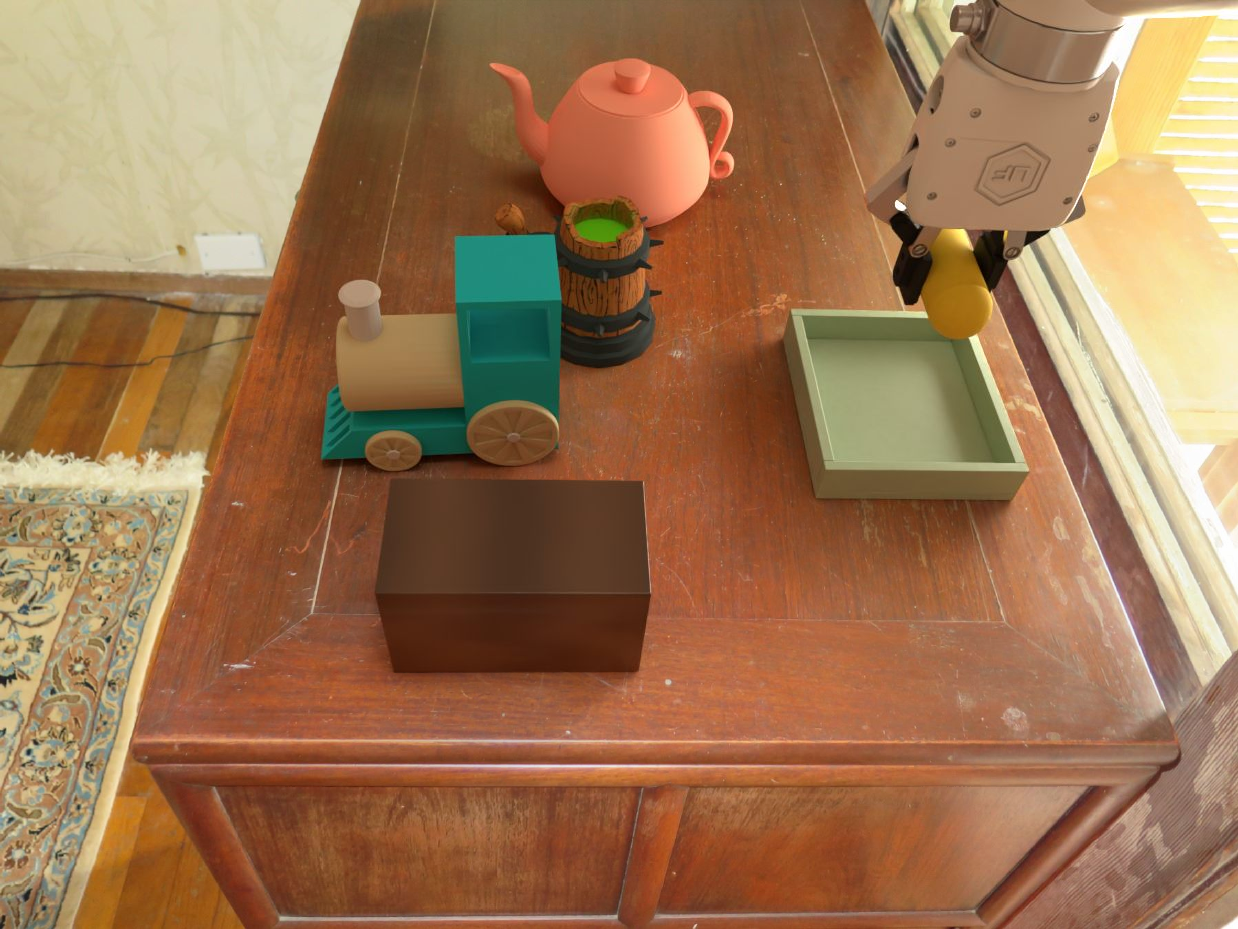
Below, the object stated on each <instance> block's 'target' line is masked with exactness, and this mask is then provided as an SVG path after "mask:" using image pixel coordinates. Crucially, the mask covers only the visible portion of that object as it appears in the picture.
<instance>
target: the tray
mask: <svg viewBox="0 0 1238 929" xmlns="http://www.w3.org/2000/svg"><path fill="white" fill-rule="evenodd" d="M782 342H783V347H784V352H785V356H786V357H785V358H786V361H787V366H788V371H789V377H790V381H791V386H792V392H793V395H794V401H795V406H796V411H797V415H798V420H799V426H800V429H801V435H802V440H803V444H804V449H805V454H806V459H807V463H808V468H809V472H810V473H809V474H810V478H811V483H812V487H813V493H814V498H815V499H834V500H835V499H836V500H837V499H840V500H841V499H842V500H843V499H844V500H845V499H847V500H848V499H849V500H850V499H851V500H856V499H857V500H946V501H947V500H953V501H954V500H956V501H957V500H958V501H959V500H962V501H963V500H965V501H966V500H967V501H970V500H971V501H1014V499H1015V497H1016V495H1017V493H1018V492H1019V490H1020V489H1021V487H1022V486H1023V484H1024V482H1025V480H1026V479H1027V478H1028V476H1029V474H1030V468H1029V467H1028V464H1027V461H1026V458H1025V456H1024V453H1023V451H1022V448H1021V445H1020V443H1019V440H1018V438H1017V436H1016V433H1015V432H1016V431H1015V430H1014V426H1013V425H1012V422H1011V419H1010V417H1009V414H1008V411H1007V409H1006V407H1005V404H1004V402H1003V399H1002V396H1001V394H1000V391H999V389H998V386H997V384H996V381H995V378H994V376H993V372H992V371H991V367H990V365H989V363H988V361H987V357H986V355H985V353H984V349H983V347H982V345H981V342H980V340H979V337H978V334H976V335H974V336H972V337H969V338H966V339H951V338H947V337H945V336H943V335H941V334H940V333H938V332H937V331H936V330H935V329H934V328H933V326H932V325H931V323H930V321H929V318H928V315H927V312H926V311H919V310H917V311H910V310H909V311H908V310H875V309H874V310H870V309H869V310H867V309H829V308H828V309H826V308H823V309H822V308H789V312H788V316H787V321H786V324H785V328H784V332H783V335H782Z"/></svg>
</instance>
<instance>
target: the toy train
mask: <svg viewBox="0 0 1238 929" xmlns="http://www.w3.org/2000/svg"><path fill="white" fill-rule="evenodd" d="M454 268H455V269H454V276H455V278H454V282H455V284H454V286H455V287H454V288H455V293H454V294H455V297H454V298H455V313H451V312H450V313H420V314H419V313H417V314H415V313H414V314H382V315H381V309H380V303H379V300H380V298H381V295H382V290H381V288H380V287H379V285H378V284H377V283H375V282H374V281H371V280H368V279H355V280H351V281H348V282H347V283H345V284H343V285H342V286H341V288H340V289H339V291H338V293H337V294H338V295H337V297H338V300H339V301H340V303H341V304H342V305H343V307H344V312H345V316H342V317H340V319H339V320H338V322H337V326H336V333H335V363H336V374H337V384H336V385H335V386H334V387H333V388H332V389H330V391H328V392H327V398H326V405H325V406H326V408H325V415H324V416H325V417H324V424H323V425H324V426H323V435H322V445H321V454H320V461H321V460H323V461H324V460H343V459H345V460H346V459H367V461H368V462H369V463H370V464H371V465H372V466H374V467H376V468H378V469H380V470H384V471H388V472H401V471H406V470H409V469H411V468H413V467H414V466H417V464H418V463H419V462H420V461H421V458H422V456H435V455H436V456H438V455H439V456H440V455H459V454H475V455H476V456H477V457H479V458H480V459H482V460H483V461H486V462H488V463H490V464H494V465H498V466H505V467H507V466H508V467H511V466H512V467H517V466H524V465H528V464H532V463H534V462H537V461H539V460H542V459H543V458H545V457H547V456H548V455H549V454H550V453H551V452H552V451H554V450H559V440H560V439H559V438H560V430H559V429H560V426H559V425H560V394H561V393H560V391H561V390H560V388H561V387H560V384H561V357H560V348H561V302H562V300H561V290H560V281H559V272H558V263H557V254H556V244H555V235H506V234H504V235H502V234H501V235H455V236H454Z"/></svg>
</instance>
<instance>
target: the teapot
mask: <svg viewBox="0 0 1238 929" xmlns="http://www.w3.org/2000/svg"><path fill="white" fill-rule="evenodd" d="M489 67H490V68H491V70H492V71H494V72H495V73H497V74H498V75H499V77H501V78H502V79H503V80H504V81H505V82H506V84H507V86H508V87H509V88H510V89H509V90H510V91H511V94H512V99H513V108H514V123H515V124H514V125H515V131H516V135H517V138H518V143H519V144H520V146H521V148H522V150H523V151H524V152H525V154H526V155H527V156H528V157H529V158H530V159H531V160H533V161H534V162H536V164H538V165H539V170H540V174H541V177H542V180H543V182H544V184H545V186H546V188H547V189H548V191H549V192H550V193H551V195H552V196H553V197H554V198H555V199H556V201H558V202H559V203H560V204H561V205H562V206H563V207H565V205H566V204H567V203H572V202H574V203H577V202H580V201H582V200H585V199H593V198H606V199H613V200H615V198H616V196H617V195H619V196H622V197H625V198H628V199H630V200H631V201H632V202H633V203H634V205H635V206H636V207H637V208H638V209H639V215H640V217H641V218H643V217H645V216H647V218H648V219H647V220H646V221H645V222H644V223H643V225H644V226H645V229H647V228H652V227H655V226H659V225H662V224H665V223H667V222H669V221H671V220H673V219H674V218H677V217H678V216H680V215H681V214H683V213H684V212H685V211H687V210H688V209H690V208H691V207H692V206H694V204H696V202H698V200H700V198H701V196H702V195H703V194H704V192H705V191H706V188H707V186H708V183H709V179H712V180H717V181H718V180H723V179H725V178H727V177H729V176H730V175H731V174H732V172H733V171H734V167H735V160H734V157H733V156H732V154H731V153H729V152H728V151H723V148H724V146H725V144H726V142H727V140H728V138H729V135H730V133H731V129H732V126H733V122H734V114H733V109H732V106H731V104H730V103H729V101H728V100H727V99H726V98H725V97H724V96H722V95H720V94H719V93H716V92H715V91H711V90H698V91H694V92H691V93H690V94H689V93H688V91H687V90H686V88H685V86H684V85H683V84H682V83H681V80H679V79H678V77H676V76H675V75H673V74H672V73H671V72H670V71H668V70H666V69H665V68H662V67H660V66H657V65H654V64H651V63H648V62H647V61H645V60H642V59H640V58H634V57H631V58H629V57H627V58H622V59H619V60H615V61H614V60H613V61H607V62H604V63H599V64H597V65H595V66H592V67H591V68H588V69H587V70H586V71H584V72H583V73H582V74H581V75H580V76H579V77H578V78H577V79H576V80H575V82H574V83H573V84H571V86H570V87H569V89H568V90H567V91H566V93H565V95H564V96H563V97H562V99H561V100H560V102H559V103H558V104H557V106H556V107H555V109H554V111H553V113H552V115H551V117H550V119H549V122H547V121H544V120H543V119H542V118H541V117H539V116H538V114H537V113H536V110H535V108H534V100H533V91H532V86H531V84H530V82H529V79H528V78H527V76H526V75H525V74H524V73H523V72H521V71H520V70H519V69H517V68H515V67H513V66H509V65H507V64H505V63H504V64H503V63H499V62H491V63H489ZM700 107H709V108H713V109H715V110H717V111H719V112H720V113H721V120H720V124H719V127H718V130H717V132H716V134H715V136H714V138H713V140H712V142H711V144H710V145H709V141H708V138H707V137H708V136H707V134H706V130H705V126H704V124H703V122H702V119H701V116H700V113H699V112H698V110H697V108H700ZM716 162H723V164H722V165H716Z"/></svg>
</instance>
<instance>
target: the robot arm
mask: <svg viewBox="0 0 1238 929" xmlns="http://www.w3.org/2000/svg"><path fill="white" fill-rule="evenodd" d="M1219 15H1220V16H1221V15H1222V16H1223V15H1238V0H975V1H974V2H970V3H969V2H968V4H956V5H955V6H953V8H952V10H951V13H950V18H949V30H950V32H951V33H962V34H963V35H960V36H958V37H957V38H956V40H955V41H954V43H953V45H952V46H951V48H950V49H949V51H948V53H947V55H946V56H945V58H944V59H943V61H942V63H941V64H940V67H939V68H938V70H937V72H936V74H935V75H934V78H933V80H932V81H931V84H930V86H929V87H928V89H927V91H926V94H925V96H924V98H923V100H922V102H921V105H920V106H919V109H918V111H917V114H916V116H915V119H914V121H913V123H912V126H911V129H910V131H909V134H908V137H907V139H906V142H905V144H904V147H903V150H902V153H901V156H900V159H899V161H898V162H897V163H895V165H893V166H892V167H891V168H890V169H889V170H888V171H887V172H885V173H884V174H883V176H881V177H880V178H879V179H878V180H877V181H876V182H875V183H873V185H871V186H870V187H869V188H868V189H867V190H866V191H865V193H864V194H863V199H864V202H865V205H866V209H867V211H868V212H869V213H870V214H871V215H873V216H874V217H876V218H877V219H878V220H880V221H881V222H882V223H884V224H887V225H888V226H890V227H891V230H892V231H893V232H894V233H895V235H896V236H897V237H898V238H899V240H900V241H901V242H902V243H901V246H900V249H899V251H898V254H897V258H896V260H895V263H894V266H893V269H892V281H893V285H894V287H897V288H899V291H900V295H901V298H902V301H903V304H904V306H915V304H917V303H918V302H919V299H920V298H921V295H920V294H921V290H922V287H923V285H924V283H925V281H926V279H927V276H928V274H929V271H930V268H931V266H932V262H933V259H932V256H931V253H930V251H929V250H930V248H931V246H932V245H933V243H934V242H935V240H936V238H937V237H938V235H939V234H940V232H941V230H942V229H964V230H970V231H978V230H979V231H982V233H981V235H979V236H978V238H977V240H976V243H975V245H974V247H973V249H972V251H973V254H974V256H975V259H976V261H977V264H978V266H979V268H980V271H981V273H982V276H983V278H984V281H985V283H986V285H987V288H988V290H989V293H990V294H991V292H992V291H993V290H995V289H996V288H997V286H998V285H999V282H1000V280H1001V278H1002V275H1003V274H1004V272H1005V270H1006V267H1007V265H1008V263H1009V261H1014V260H1016V259H1018V258H1019V257H1020V256H1022V253H1023V251H1024V248H1025V247H1027V246H1028V245H1030V244H1032V243H1034V242H1035V241H1038V240H1040V239H1041V238H1043V237H1044V236H1046V235H1048V234H1049V233H1050V231H1052V229H1058V228H1060V227H1063V226H1065V225H1067V224H1070V223H1072V222H1074V221H1076V220H1079V219H1081V218H1083V216H1084V215H1085V213H1086V210H1087V209H1086V204H1085V201H1084V197H1083V193H1082V192H1083V191H1084V188H1085V186H1086V184H1087V181H1088V180H1089V177H1090V174H1091V172H1092V169H1093V166H1094V163H1095V161H1096V158H1097V156H1098V154H1099V151H1100V148H1101V145H1102V143H1103V139H1104V137H1105V133H1106V131H1107V128H1108V124H1109V120H1110V117H1111V113H1112V109H1113V107H1114V102H1115V98H1116V93H1117V90H1118V86H1119V81H1120V76H1121V72H1120V69H1119V67H1118V65H1117V64H1116V63H1115V62H1114V61H1113V58H1114V55H1115V53H1116V52H1117V49H1118V47H1119V45H1120V43H1121V41H1122V40H1123V36H1124V34H1125V32H1126V30H1127V28H1128V26H1129V24H1130V22H1131V19H1152V18H1153V19H1154V18H1155V19H1156V18H1190V17H1191V18H1193V17H1197V18H1198V17H1204V16H1219ZM905 194H906V195H905ZM903 195H905V203H904V202H903V201H899V199H901V197H902V196H903Z"/></svg>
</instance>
